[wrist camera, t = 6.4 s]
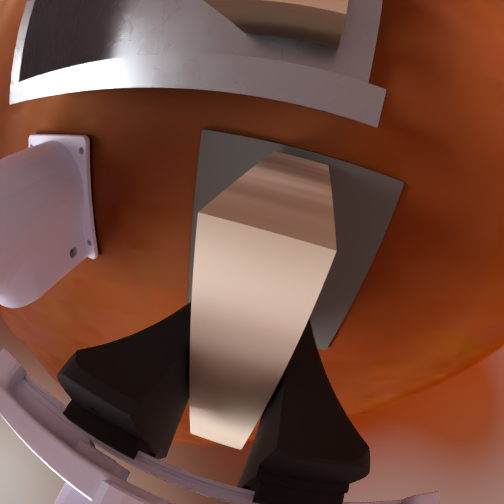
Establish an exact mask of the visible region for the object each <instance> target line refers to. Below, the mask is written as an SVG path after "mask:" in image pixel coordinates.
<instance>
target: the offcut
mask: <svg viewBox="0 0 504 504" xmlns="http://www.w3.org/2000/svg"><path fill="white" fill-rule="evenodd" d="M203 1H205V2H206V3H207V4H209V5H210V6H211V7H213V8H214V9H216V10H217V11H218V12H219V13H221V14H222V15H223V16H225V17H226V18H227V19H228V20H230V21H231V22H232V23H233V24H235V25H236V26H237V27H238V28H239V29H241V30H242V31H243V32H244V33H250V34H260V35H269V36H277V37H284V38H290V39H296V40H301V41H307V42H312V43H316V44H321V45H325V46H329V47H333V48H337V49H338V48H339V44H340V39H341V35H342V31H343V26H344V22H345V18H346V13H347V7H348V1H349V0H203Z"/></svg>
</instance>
